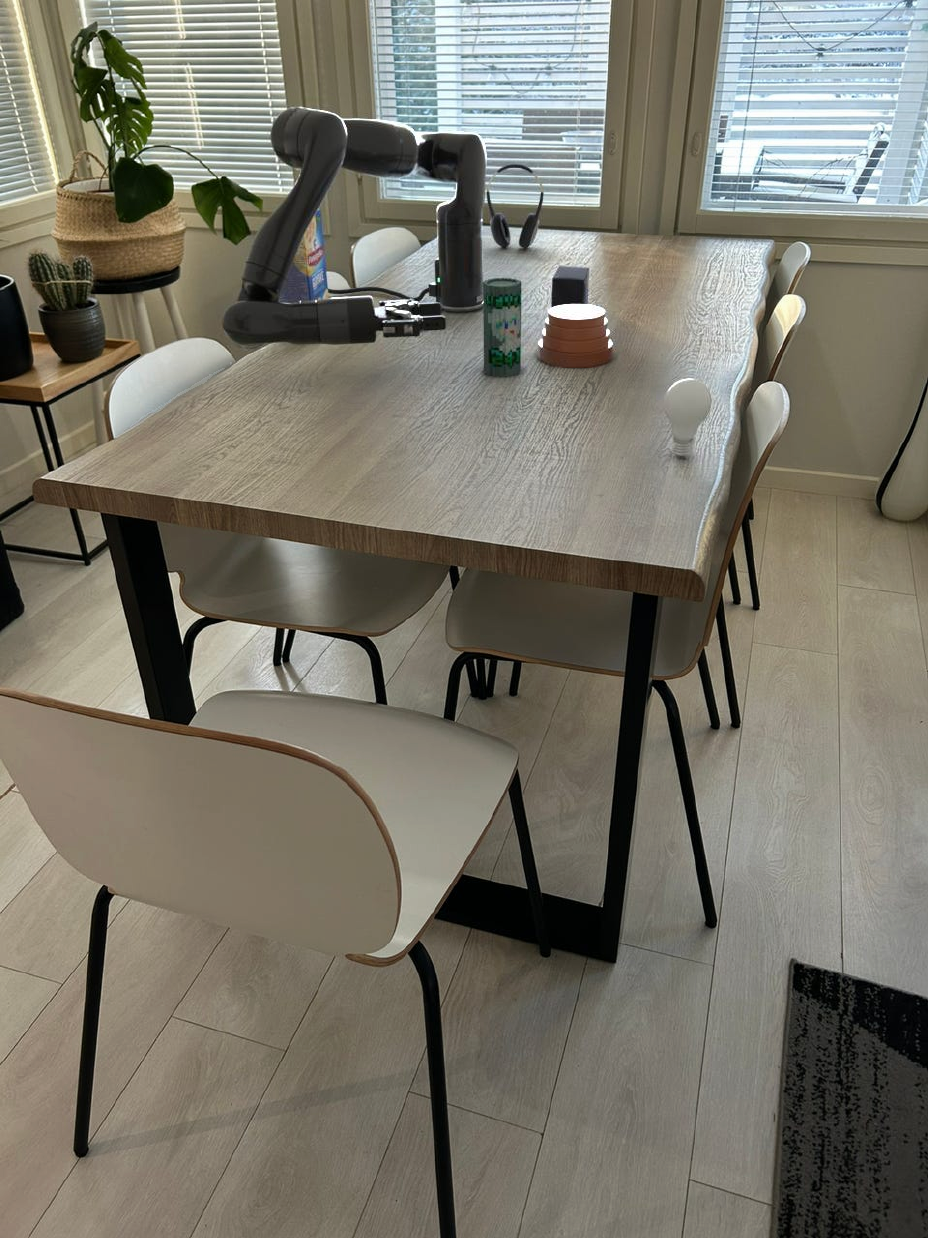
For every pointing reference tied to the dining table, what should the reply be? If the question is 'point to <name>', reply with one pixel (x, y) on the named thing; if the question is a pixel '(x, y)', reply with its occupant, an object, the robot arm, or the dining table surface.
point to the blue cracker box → (308, 267)
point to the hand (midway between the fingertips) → (443, 315)
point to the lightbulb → (686, 412)
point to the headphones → (500, 224)
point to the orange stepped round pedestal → (575, 337)
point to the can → (502, 326)
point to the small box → (570, 286)
